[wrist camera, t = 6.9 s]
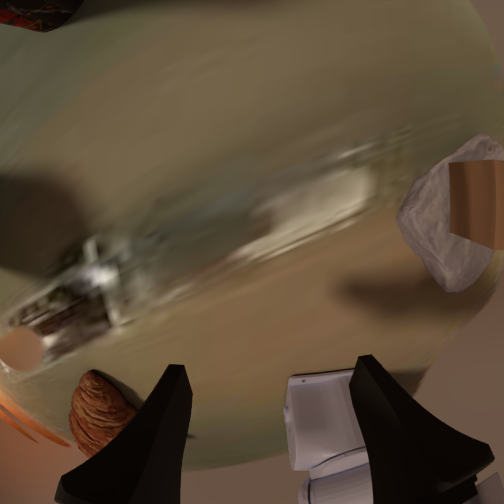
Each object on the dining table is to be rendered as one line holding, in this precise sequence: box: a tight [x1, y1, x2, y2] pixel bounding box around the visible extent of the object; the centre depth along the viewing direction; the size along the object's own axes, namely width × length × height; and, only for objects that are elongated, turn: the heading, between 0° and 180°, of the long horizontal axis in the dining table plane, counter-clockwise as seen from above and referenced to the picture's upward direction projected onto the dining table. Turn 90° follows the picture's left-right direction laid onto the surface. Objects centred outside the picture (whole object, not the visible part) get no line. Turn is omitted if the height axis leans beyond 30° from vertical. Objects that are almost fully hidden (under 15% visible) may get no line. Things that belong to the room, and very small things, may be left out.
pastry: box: [69, 370, 137, 458], centre depth 26 cm, size 17×15×8 cm
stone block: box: [396, 133, 504, 293], centre depth 17 cm, size 12×5×10 cm
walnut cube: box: [448, 159, 504, 250], centre depth 11 cm, size 4×4×5 cm
